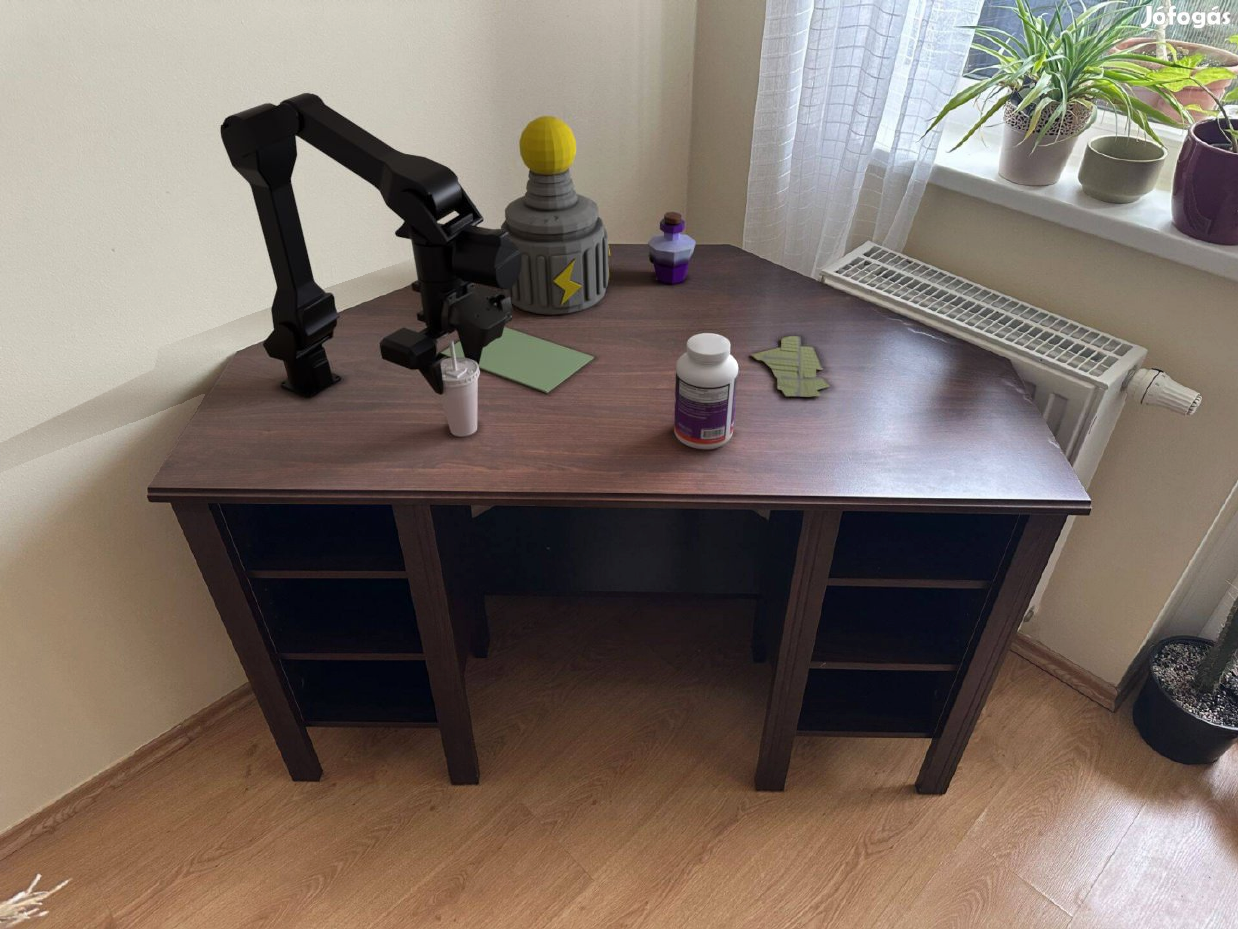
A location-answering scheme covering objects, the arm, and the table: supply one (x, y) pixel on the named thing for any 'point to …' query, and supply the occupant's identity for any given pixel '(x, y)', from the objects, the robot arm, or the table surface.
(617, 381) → the table surface
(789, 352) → the olive flat irregular sheet
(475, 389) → the smoothie
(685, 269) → the potion bottle
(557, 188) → the decorative lamp
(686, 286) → the table surface
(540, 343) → the green cloth
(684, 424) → the pill bottle
